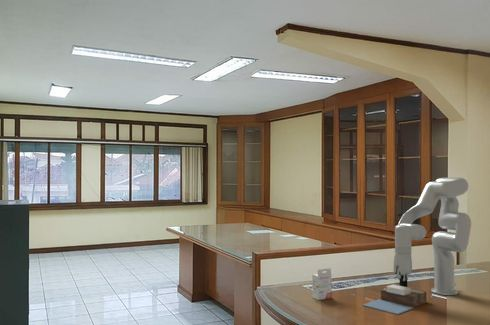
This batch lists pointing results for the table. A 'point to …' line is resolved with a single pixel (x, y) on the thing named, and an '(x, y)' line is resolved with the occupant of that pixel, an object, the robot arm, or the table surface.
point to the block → (398, 289)
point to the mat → (388, 306)
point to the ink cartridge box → (322, 284)
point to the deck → (405, 297)
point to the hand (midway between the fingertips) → (403, 288)
